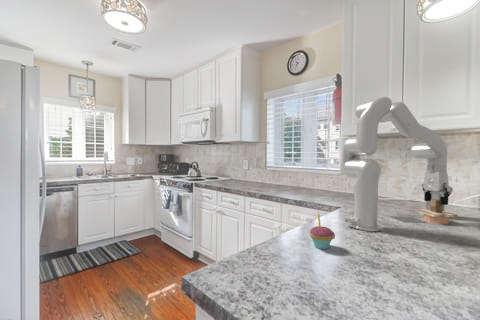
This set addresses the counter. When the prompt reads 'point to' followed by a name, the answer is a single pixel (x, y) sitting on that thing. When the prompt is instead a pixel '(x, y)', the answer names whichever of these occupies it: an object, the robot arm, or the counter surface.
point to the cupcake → (321, 236)
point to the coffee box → (434, 196)
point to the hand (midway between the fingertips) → (435, 202)
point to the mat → (408, 219)
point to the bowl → (436, 219)
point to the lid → (436, 210)
